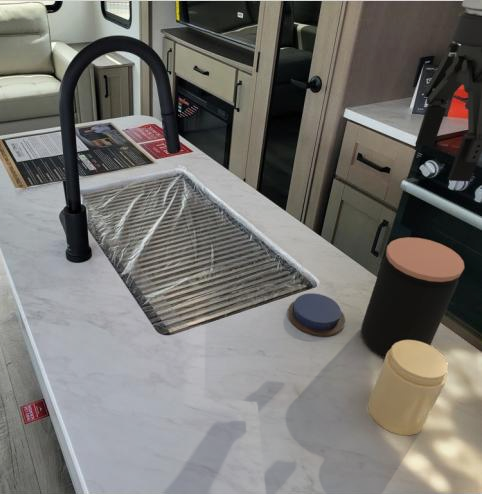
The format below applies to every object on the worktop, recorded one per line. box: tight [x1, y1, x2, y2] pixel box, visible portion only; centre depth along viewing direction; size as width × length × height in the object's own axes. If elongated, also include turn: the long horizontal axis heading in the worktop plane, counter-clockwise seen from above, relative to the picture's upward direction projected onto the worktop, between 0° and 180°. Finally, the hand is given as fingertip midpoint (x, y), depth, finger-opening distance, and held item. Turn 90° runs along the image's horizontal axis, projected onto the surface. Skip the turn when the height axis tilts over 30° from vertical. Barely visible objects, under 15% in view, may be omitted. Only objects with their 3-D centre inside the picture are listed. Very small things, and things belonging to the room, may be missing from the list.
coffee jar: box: [360, 236, 465, 358], centre depth 77 cm, size 11×11×18 cm
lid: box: [293, 292, 342, 330], centre depth 86 cm, size 8×8×2 cm
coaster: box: [287, 300, 346, 338], centre depth 87 cm, size 10×10×1 cm
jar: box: [367, 340, 449, 436], centre depth 67 cm, size 8×8×12 cm
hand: (440, 161), depth 75 cm, fingers open, 13 cm apart
